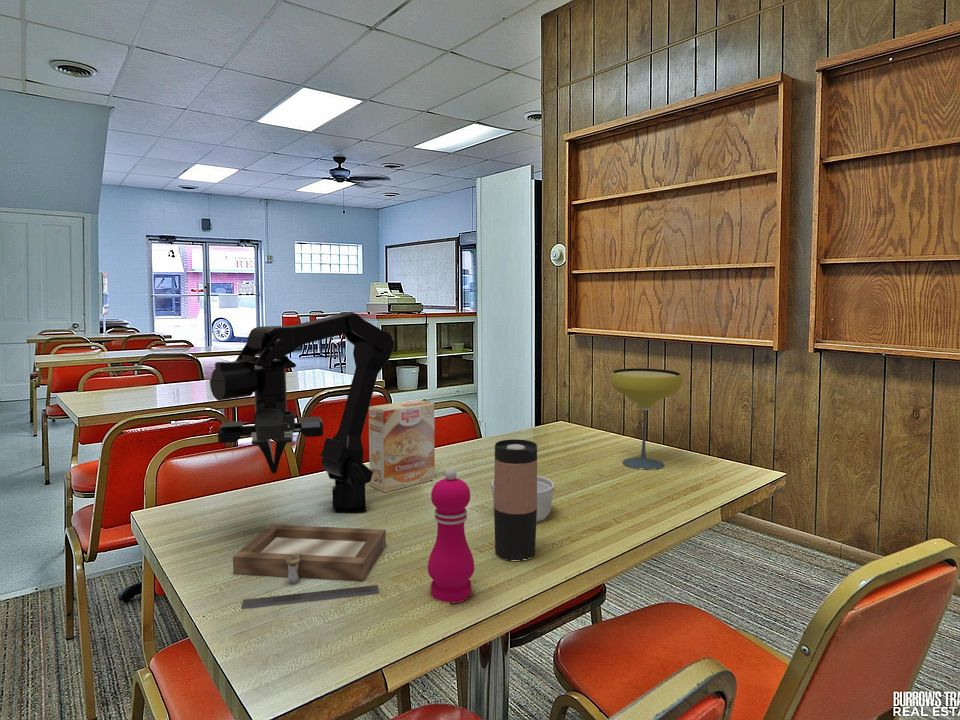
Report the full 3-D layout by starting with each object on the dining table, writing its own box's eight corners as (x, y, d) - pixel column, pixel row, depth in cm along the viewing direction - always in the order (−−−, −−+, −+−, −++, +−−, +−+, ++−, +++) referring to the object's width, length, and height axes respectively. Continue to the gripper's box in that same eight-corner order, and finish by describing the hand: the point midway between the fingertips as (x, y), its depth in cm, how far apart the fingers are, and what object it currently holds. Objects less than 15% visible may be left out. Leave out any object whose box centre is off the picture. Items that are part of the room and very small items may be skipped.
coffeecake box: (384, 493, 144) (383, 410, 141) (368, 485, 149) (367, 406, 147) (436, 480, 153) (435, 402, 151) (419, 473, 159) (418, 398, 156)
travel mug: (491, 545, 115) (492, 439, 112) (532, 543, 115) (533, 438, 113) (496, 563, 107) (496, 450, 105) (539, 561, 108) (541, 449, 105)
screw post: (299, 581, 100) (298, 560, 100) (298, 585, 99) (298, 565, 98) (289, 582, 100) (288, 561, 100) (288, 587, 98) (287, 566, 98)
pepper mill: (447, 578, 101) (446, 459, 99) (483, 591, 97) (483, 467, 95) (418, 596, 95) (416, 470, 93) (455, 610, 91) (455, 479, 89)
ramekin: (559, 508, 134) (560, 476, 133) (545, 530, 122) (546, 496, 121) (501, 501, 139) (501, 470, 138) (482, 522, 126) (482, 489, 125)
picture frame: (385, 545, 113) (385, 525, 113) (358, 588, 97) (357, 565, 97) (271, 539, 116) (270, 520, 115) (225, 581, 100) (224, 558, 99)
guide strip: (377, 589, 98) (377, 584, 98) (378, 595, 96) (378, 590, 96) (243, 604, 93) (243, 599, 93) (241, 611, 91) (241, 606, 91)
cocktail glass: (689, 463, 168) (693, 372, 165) (659, 478, 155) (663, 379, 152) (629, 451, 180) (631, 366, 177) (596, 465, 166) (598, 373, 164)
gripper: (211, 403, 107) (216, 490, 109) (322, 398, 112) (325, 481, 114) (219, 392, 118) (224, 472, 120) (320, 388, 123) (323, 464, 125)
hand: (274, 473), depth 119 cm, fingers closed
